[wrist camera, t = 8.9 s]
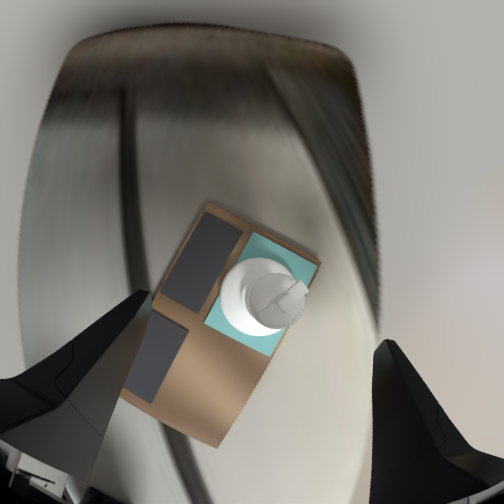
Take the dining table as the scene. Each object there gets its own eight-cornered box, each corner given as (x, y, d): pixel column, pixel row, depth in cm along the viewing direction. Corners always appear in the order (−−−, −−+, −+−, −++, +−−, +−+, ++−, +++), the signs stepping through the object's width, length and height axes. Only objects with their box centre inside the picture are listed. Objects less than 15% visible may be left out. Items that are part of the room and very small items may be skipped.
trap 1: (198, 314, 18) (197, 314, 18) (160, 292, 18) (160, 292, 18) (242, 231, 19) (243, 231, 18) (205, 211, 19) (205, 211, 19)
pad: (269, 356, 18) (269, 357, 17) (204, 322, 18) (203, 323, 18) (316, 266, 19) (317, 266, 18) (253, 232, 19) (253, 231, 19)
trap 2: (151, 403, 17) (150, 404, 17) (117, 381, 17) (116, 382, 17) (189, 331, 18) (188, 331, 17) (151, 309, 18) (150, 309, 17)
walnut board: (217, 444, 17) (216, 448, 17) (113, 388, 17) (110, 390, 17) (319, 263, 19) (321, 262, 19) (208, 204, 19) (208, 201, 19)
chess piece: (203, 289, 18) (166, 287, 8) (265, 242, 18) (299, 187, 9) (252, 351, 17) (271, 415, 8) (313, 302, 18) (393, 312, 8)
